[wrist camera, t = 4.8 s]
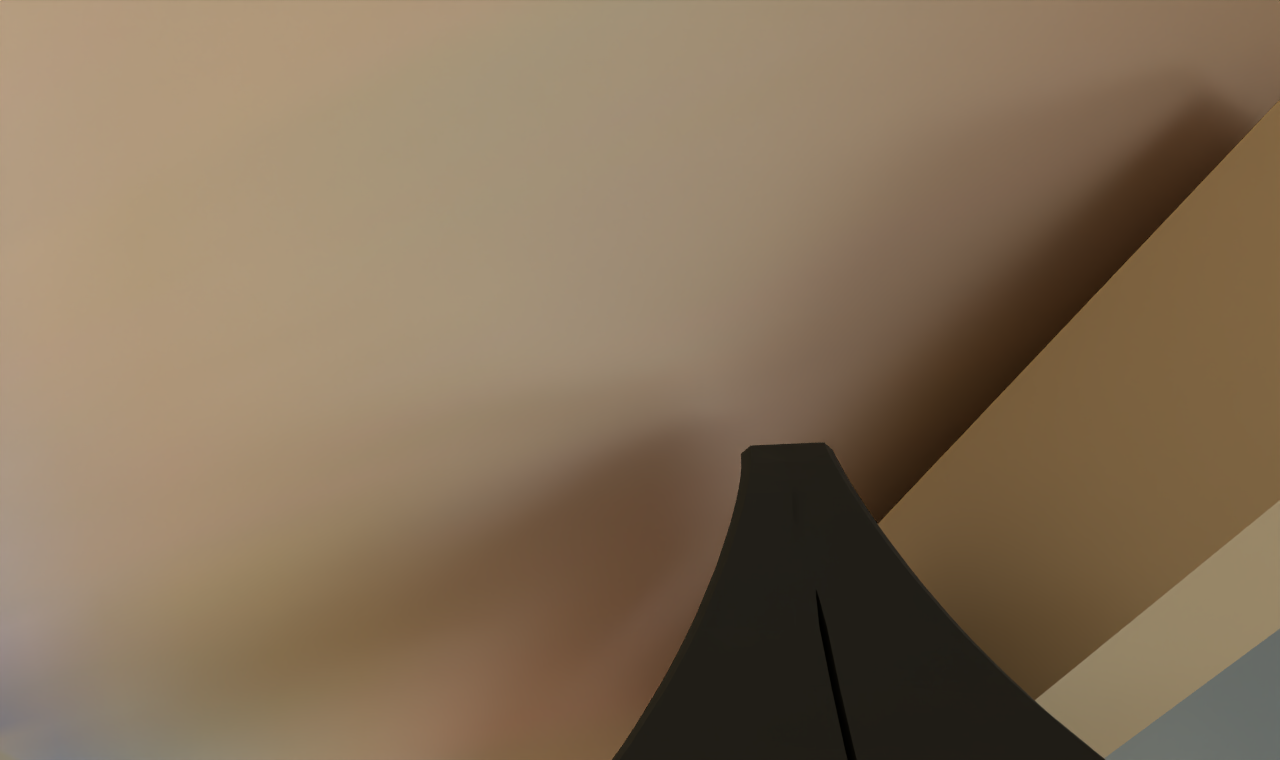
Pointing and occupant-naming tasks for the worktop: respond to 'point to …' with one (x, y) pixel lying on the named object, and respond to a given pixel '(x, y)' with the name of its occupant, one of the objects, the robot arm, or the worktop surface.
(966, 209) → the worktop surface
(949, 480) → the beige grey flat-sided piece
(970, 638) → the robot arm
